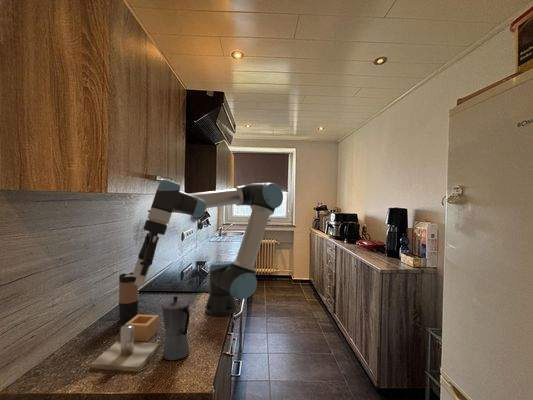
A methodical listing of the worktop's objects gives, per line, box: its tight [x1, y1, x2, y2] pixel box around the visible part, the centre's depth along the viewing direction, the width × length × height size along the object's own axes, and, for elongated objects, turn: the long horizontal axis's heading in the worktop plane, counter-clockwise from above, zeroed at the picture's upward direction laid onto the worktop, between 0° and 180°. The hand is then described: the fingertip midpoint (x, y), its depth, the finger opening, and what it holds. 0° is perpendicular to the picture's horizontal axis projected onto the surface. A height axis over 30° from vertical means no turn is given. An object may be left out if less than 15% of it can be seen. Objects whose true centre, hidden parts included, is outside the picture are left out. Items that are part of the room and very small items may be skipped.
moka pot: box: [161, 296, 190, 361], centre depth 98 cm, size 10×15×20 cm, turn 51°
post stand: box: [90, 324, 161, 373], centre depth 96 cm, size 14×16×10 cm
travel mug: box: [118, 271, 139, 324], centre depth 124 cm, size 8×8×20 cm
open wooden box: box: [124, 313, 160, 342], centre depth 111 cm, size 9×9×6 cm
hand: (137, 281), depth 97 cm, fingers open, 13 cm apart
